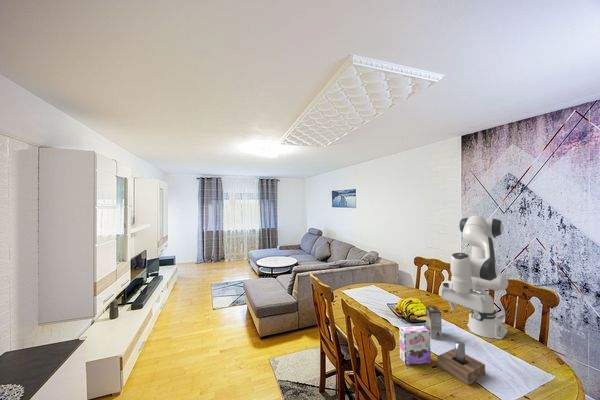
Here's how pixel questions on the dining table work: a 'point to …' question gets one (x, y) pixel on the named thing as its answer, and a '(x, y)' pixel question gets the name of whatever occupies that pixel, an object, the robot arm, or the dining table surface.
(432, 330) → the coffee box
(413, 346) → the candy box
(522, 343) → the dining table surface
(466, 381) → the socket block
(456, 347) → the pin
